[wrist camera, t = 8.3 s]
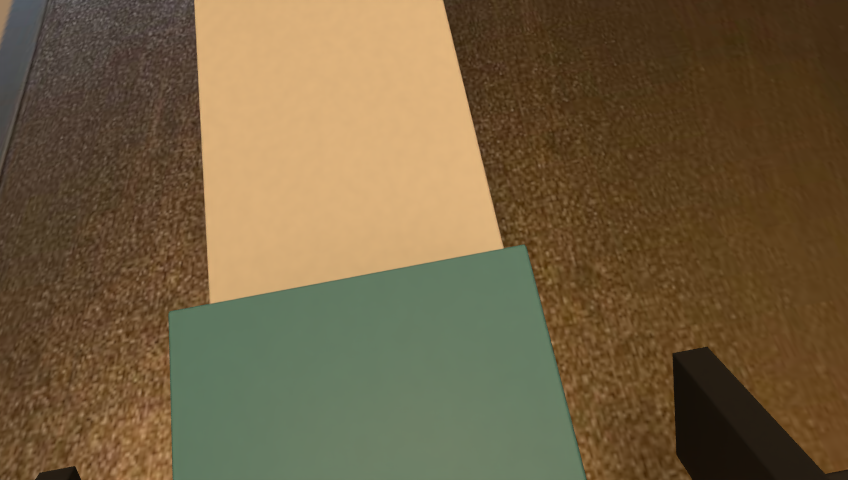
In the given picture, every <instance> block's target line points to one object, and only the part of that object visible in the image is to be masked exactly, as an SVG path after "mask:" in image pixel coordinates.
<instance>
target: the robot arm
mask: <svg viewBox="0 0 848 480" xmlns="http://www.w3.org/2000/svg"><path fill="white" fill-rule="evenodd" d="M673 376H674V402H675V427H676V453H677V456H678V458H679V459H680V461H681V463H682V464H683V466H684V467H685V469H686V470H687V472H688V473H689V475H690V476H691V478H692V479H693V480H848V470H844V471H838V472H833V473H828V474H825V473H824V472H823V471H822V470H821V469H820V468H819V467H818V466H817V465H816V464H815V463H814V461H813V460H812V459H811V458H810V457H809V456H808V455H807V454H806V453H805V452H804V451H803V450H802V449H801V447H800V446H799V445H798V444H797V443H796V442H795V441H794V440H793V439H792V438H791V437H790V436H789V435H788V433H787V432H786V431H785V430H784V429H783V428H782V427H781V426H780V425H779V424H778V423H777V422H776V420H775V419H774V418H773V417H772V416H771V415H770V414H769V413H768V412H767V411H766V410H765V409H764V408H763V406H762V405H761V404H760V403H759V402H758V401H757V400H756V399H755V398H754V397H753V396H752V395H751V394H750V392H749V391H748V390H747V389H746V388H745V387H744V386H743V385H742V384H741V383H740V382H739V381H738V380H737V378H736V377H735V376H734V375H733V374H732V373H731V372H730V371H729V370H728V369H727V368H726V367H725V365H724V364H723V363H722V362H721V361H720V360H719V359H718V358H717V357H716V356H715V355H714V354H713V353H712V351H711V350H710V349H709V348H708V347H703V348H698V349H693V350H687V351H682V352H677V353H673ZM35 480H81V478H80V476H79V474H78V472H77V469H76V467H75V466H73V467H68V468H63V469H57V470H52V471H47V472H42V473H39V475H38V476H37V478H36V479H35Z"/></svg>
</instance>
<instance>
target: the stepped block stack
mask: <svg viewBox="0 0 848 480" xmlns="http://www.w3.org/2000/svg"><path fill="white" fill-rule="evenodd" d="M194 4H195V24H196V43H197V63H198V82H199V102H200V121H201V141H202V160H203V180H204V200H205V219H206V239H207V258H208V278H209V297H210V304H206V305H201V306H196V307H190V308H185V309H180V310H175V311H170V312H169V350H170V390H171V430H172V469H173V480H587V479H586V475H585V471H584V467H583V463H582V459H581V456H580V452H579V448H578V444H577V440H576V436H575V432H574V429H573V425H572V421H571V417H570V413H569V409H568V406H567V402H566V398H565V394H564V390H563V386H562V382H561V379H560V375H559V371H558V367H557V363H556V359H555V355H554V352H553V348H552V344H551V340H550V336H549V332H548V329H547V325H546V321H545V317H544V313H543V309H542V305H541V302H540V298H539V294H538V290H537V286H536V282H535V279H534V275H533V271H532V267H531V263H530V259H529V255H528V252H527V248H526V246H525V245H519V246H513V247H508V248H503V244H502V239H501V235H500V231H499V227H498V223H497V219H496V215H495V211H494V207H493V203H492V199H491V195H490V190H489V186H488V182H487V178H486V174H485V170H484V166H483V162H482V158H481V154H480V150H479V146H478V141H477V137H476V133H475V129H474V125H473V121H472V117H471V113H470V109H469V105H468V101H467V97H466V92H465V88H464V84H463V80H462V76H461V72H460V68H459V64H458V60H457V56H456V52H455V48H454V43H453V39H452V35H451V31H450V27H449V23H448V19H447V15H446V11H445V7H444V3H443V0H194Z"/></svg>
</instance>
